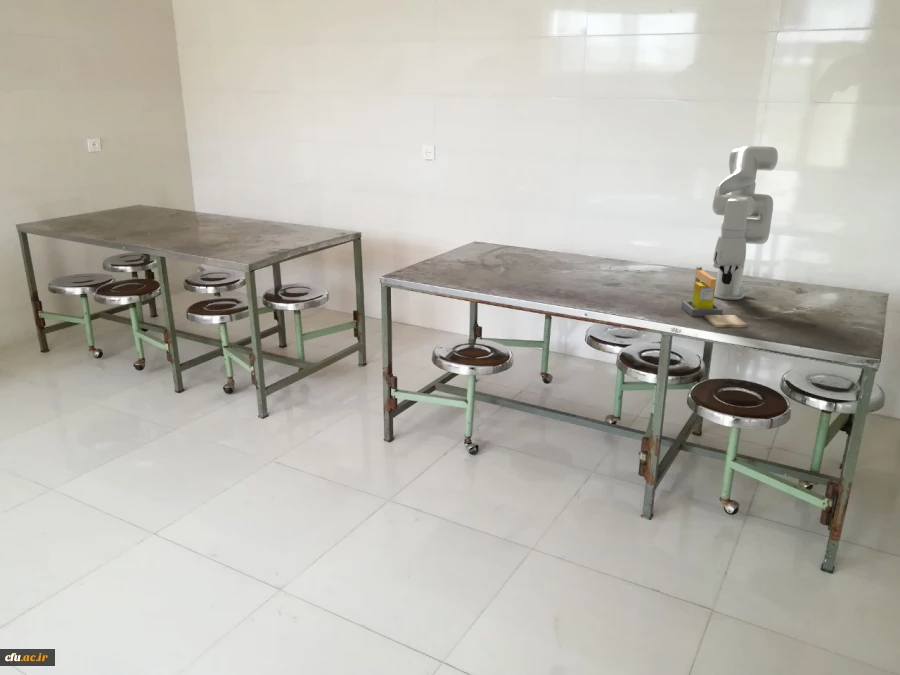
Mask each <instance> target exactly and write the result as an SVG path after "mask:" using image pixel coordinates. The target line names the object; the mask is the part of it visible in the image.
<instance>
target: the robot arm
mask: <svg viewBox="0 0 900 675" xmlns="http://www.w3.org/2000/svg"><path fill="white" fill-rule="evenodd" d="M778 159H779V154H778V150H777V149H776V147H773V146H766V145H765V146H761V145H758V146H757V145H746V146H742V147H738V148H735V149H733V150H731V152H730V154H729V162H728V166H729V167H728V168H729V172H730V175H729V176H727V177H726V178H725V179H723V180H722V181H721V182H720V183H719V184H718V186H717V187H716V189H715V191H714V195H713V202H712V211H713V213H714V214H715V215H717V216H724V217H723V222H722V223H721V227H720V228H721V229H720V231H721V232H720V235H721V236H718V239H717V240H716V244H715V248H714V253H713V257H712V258H713V259H712V261H713V265H712V266H713V268H715V269H717V273H716V274H717V275H716V279H717V280H716V287H715V293H714V298H716V299H721V300H727V301H731V300H733V301H735V300H742V299H744V297H745V293H753V292H754V288H753V287H747V286H743V285H742V283H743V276H744V269H745V265H746V264H745V262H746V256H747V254H746V253H747V245H748V244H751V245H752V244H753V245H763V244H766V243H767V242H768V240H769V236H770V233H771V232H770V230H771V224H772V219H773V218H772V217H773V211H774V200H773V197H772V196H771V195H769V194H765V193H764V194H763V193H755V191H756V186H757V184H756V178H757V173H758V171H768V172H769V171H771V172H772V171H773V170H774V169H776V166H777V164H778ZM729 193H730V194H729Z"/></svg>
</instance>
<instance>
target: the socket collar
mask: <svg viewBox="0 0 900 675" xmlns="http://www.w3.org/2000/svg"><path fill="white" fill-rule="evenodd" d="M681 308H682V309H683V310H684V311H685V312H686V313H687V314H689V315H690V316H691V317H705V315H723V313H724V309H723V308H722V307H721V306H719V305H717V303H715V302H714V301H713V309H694V308H693V307H692V300H682V301H681Z"/></svg>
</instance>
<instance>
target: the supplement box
mask: <svg viewBox="0 0 900 675" xmlns="http://www.w3.org/2000/svg"><path fill="white" fill-rule="evenodd" d="M715 288H716V287H709V286H707V285H706V284H705V283H703V282H702V281H700V282H695V281H694V283H693V290H692V291H693V292H692V298H691V299H692V300H691V301H692V307H693V308H694V309H713V302H714V299H715V297H714V293H715Z"/></svg>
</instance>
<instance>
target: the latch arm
mask: <svg viewBox="0 0 900 675" xmlns="http://www.w3.org/2000/svg"><path fill="white" fill-rule="evenodd" d="M695 268H696V269H695V276H694V282H703V283H705V284H706V285H707V286H709V287H715V288H716V281H717V278H715V277H714V276H712V275H711V274H709V273H708V272H706V271H705V270H703V267H702V266H696V267H695Z"/></svg>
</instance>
